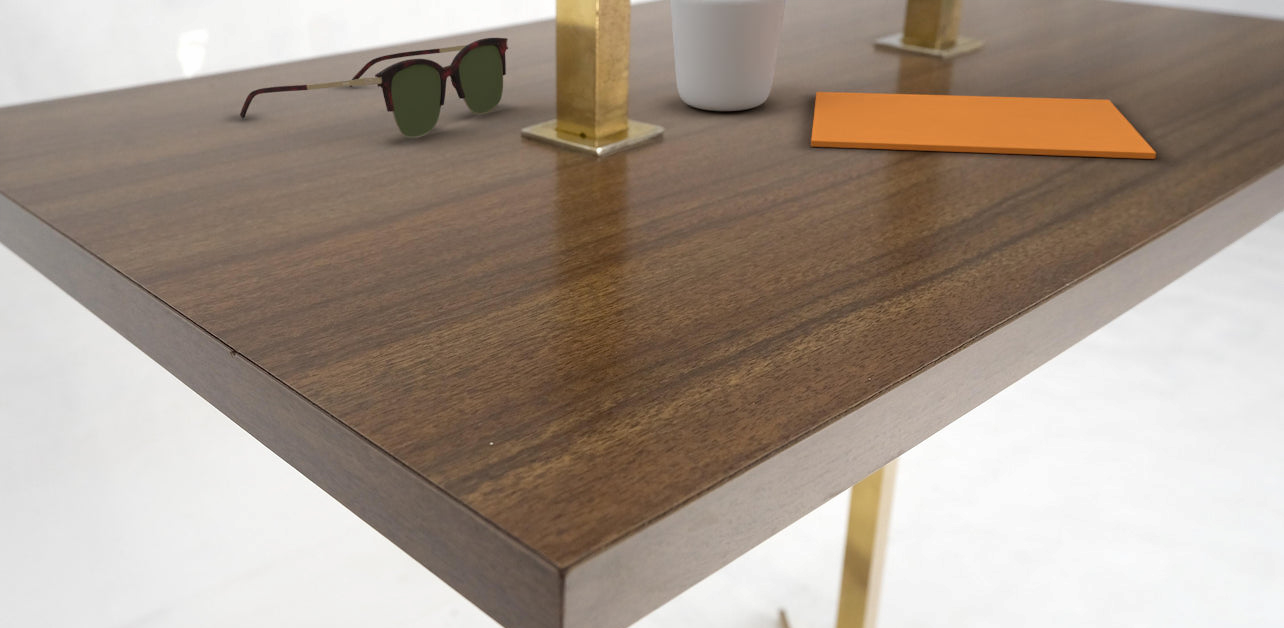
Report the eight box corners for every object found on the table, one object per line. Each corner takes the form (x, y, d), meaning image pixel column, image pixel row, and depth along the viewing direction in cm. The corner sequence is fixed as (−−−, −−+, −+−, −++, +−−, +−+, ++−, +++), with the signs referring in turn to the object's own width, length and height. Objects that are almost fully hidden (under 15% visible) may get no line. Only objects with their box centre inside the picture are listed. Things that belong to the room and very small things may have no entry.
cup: (711, 81, 91) (715, -26, 88) (809, 91, 87) (817, -21, 84) (648, 110, 83) (650, -7, 79) (753, 122, 79) (760, 0, 75)
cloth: (1108, 105, 81) (1109, 99, 81) (1155, 159, 69) (1156, 152, 69) (816, 97, 85) (816, 91, 85) (810, 146, 73) (811, 140, 73)
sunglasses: (388, 148, 75) (376, 69, 73) (228, 139, 82) (213, 67, 80) (515, 102, 86) (508, 32, 84) (363, 98, 93) (353, 34, 91)
